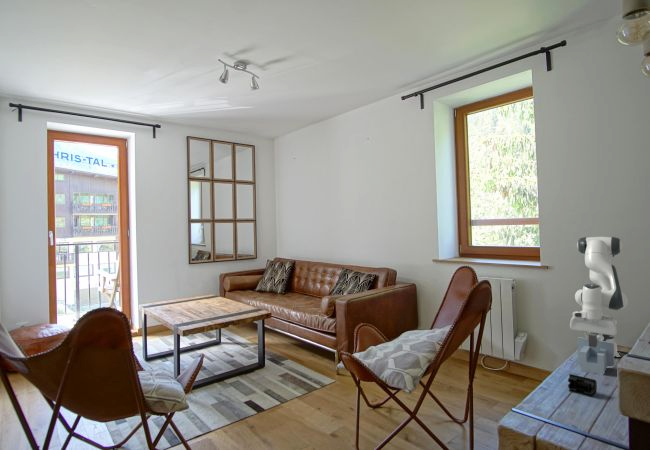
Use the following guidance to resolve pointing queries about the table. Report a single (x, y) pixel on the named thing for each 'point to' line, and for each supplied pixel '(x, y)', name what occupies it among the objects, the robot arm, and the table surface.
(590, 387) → the end cap
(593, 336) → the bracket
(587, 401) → the table surface
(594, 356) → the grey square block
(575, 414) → the table surface
